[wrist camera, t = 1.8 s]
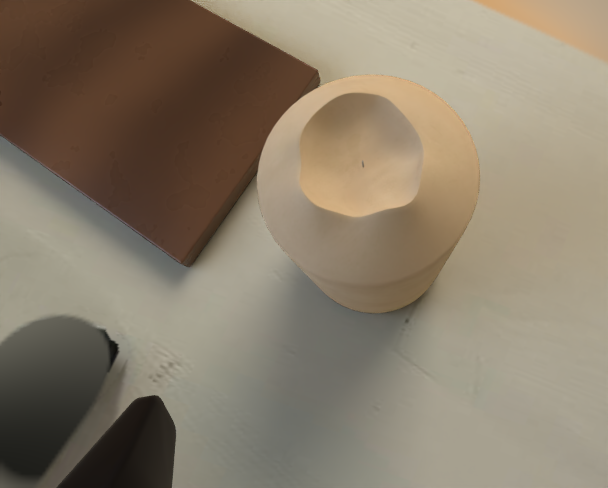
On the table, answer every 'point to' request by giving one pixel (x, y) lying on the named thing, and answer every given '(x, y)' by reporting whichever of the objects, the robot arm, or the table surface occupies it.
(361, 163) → the candle
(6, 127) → the walnut board
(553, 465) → the table surface
